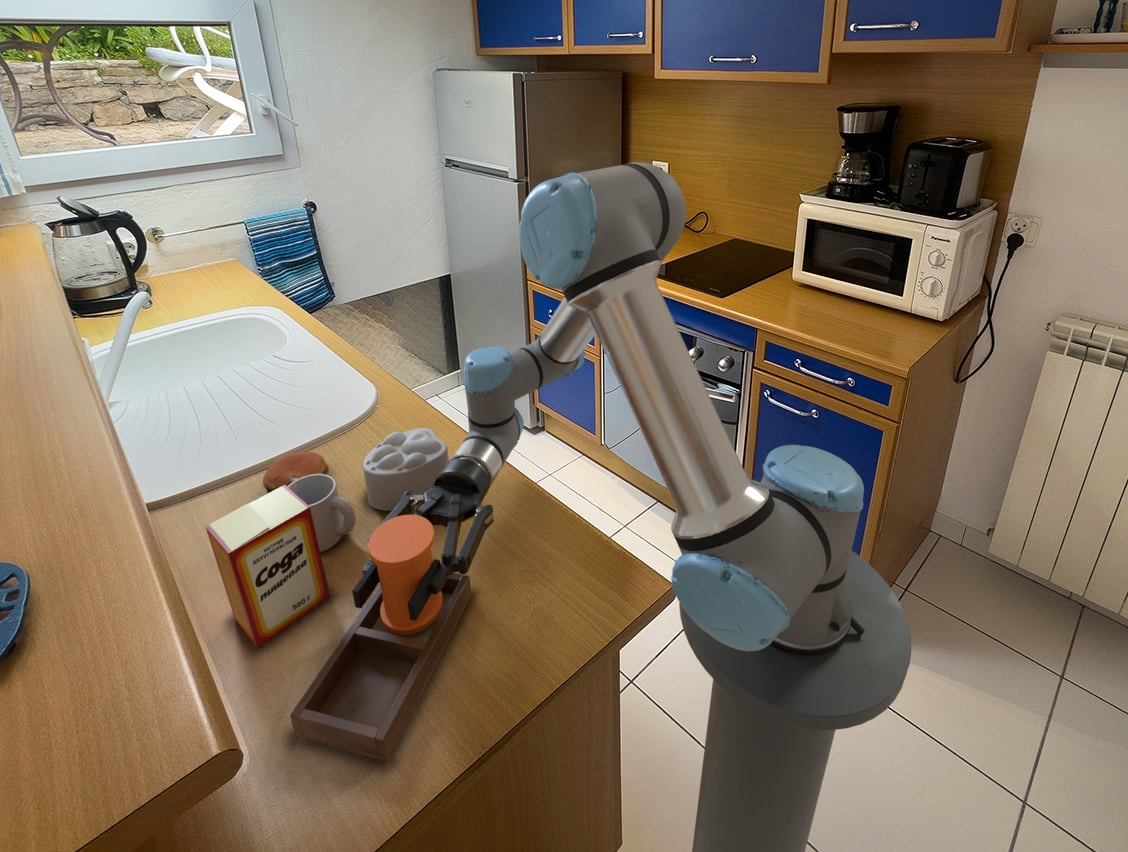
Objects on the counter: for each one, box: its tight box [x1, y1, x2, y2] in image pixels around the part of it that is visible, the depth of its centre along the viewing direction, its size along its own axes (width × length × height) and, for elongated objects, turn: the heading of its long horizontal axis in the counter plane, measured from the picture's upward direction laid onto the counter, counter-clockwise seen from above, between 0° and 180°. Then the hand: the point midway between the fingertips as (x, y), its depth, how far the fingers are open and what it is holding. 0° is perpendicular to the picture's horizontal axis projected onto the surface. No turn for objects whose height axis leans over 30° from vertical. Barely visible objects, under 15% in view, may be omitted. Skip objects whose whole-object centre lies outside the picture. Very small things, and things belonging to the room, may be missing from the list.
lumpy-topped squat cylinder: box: [362, 427, 450, 512], centre depth 99 cm, size 10×13×9 cm
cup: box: [287, 474, 357, 553], centre depth 89 cm, size 7×10×9 cm
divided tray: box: [289, 572, 472, 763], centre depth 72 cm, size 11×21×4 cm, turn 167°
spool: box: [367, 514, 443, 635], centre depth 74 cm, size 8×8×12 cm
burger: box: [262, 451, 330, 494], centre depth 100 cm, size 10×9×5 cm
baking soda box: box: [205, 485, 331, 649], centre depth 76 cm, size 10×6×16 cm
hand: (384, 605), depth 70 cm, fingers closed on spool, 6 cm apart
